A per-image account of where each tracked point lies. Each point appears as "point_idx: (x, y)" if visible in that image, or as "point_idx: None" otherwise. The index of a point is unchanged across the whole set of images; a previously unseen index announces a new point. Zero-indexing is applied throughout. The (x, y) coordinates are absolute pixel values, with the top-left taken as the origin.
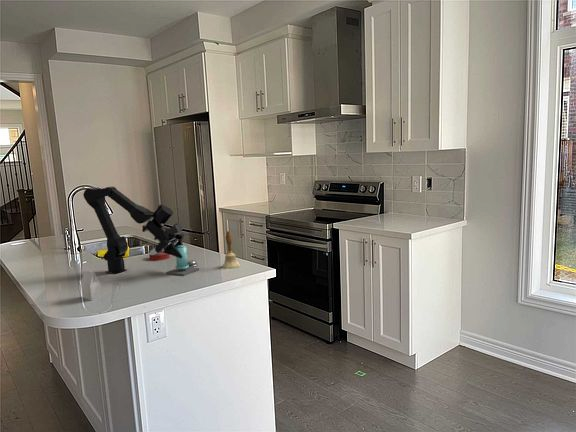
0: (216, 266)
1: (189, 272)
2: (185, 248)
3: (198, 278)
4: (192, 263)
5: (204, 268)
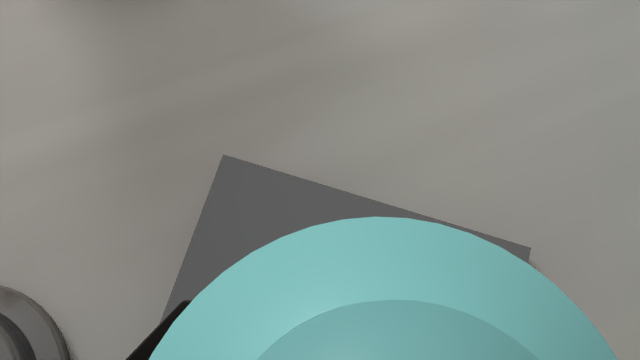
0: (60, 8)
1: (415, 216)
2: (413, 230)
3: (598, 32)
4: (4, 334)
5: (148, 123)
